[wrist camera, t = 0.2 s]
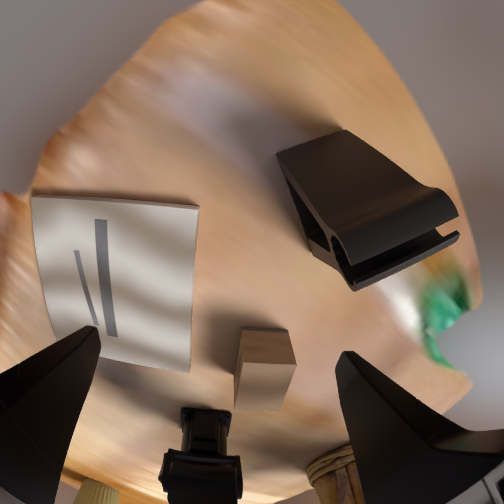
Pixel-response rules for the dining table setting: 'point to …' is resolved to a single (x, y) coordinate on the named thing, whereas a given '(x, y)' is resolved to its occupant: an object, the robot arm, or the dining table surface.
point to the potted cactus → (96, 493)
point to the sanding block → (263, 369)
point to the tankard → (336, 477)
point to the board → (120, 274)
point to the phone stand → (363, 208)
